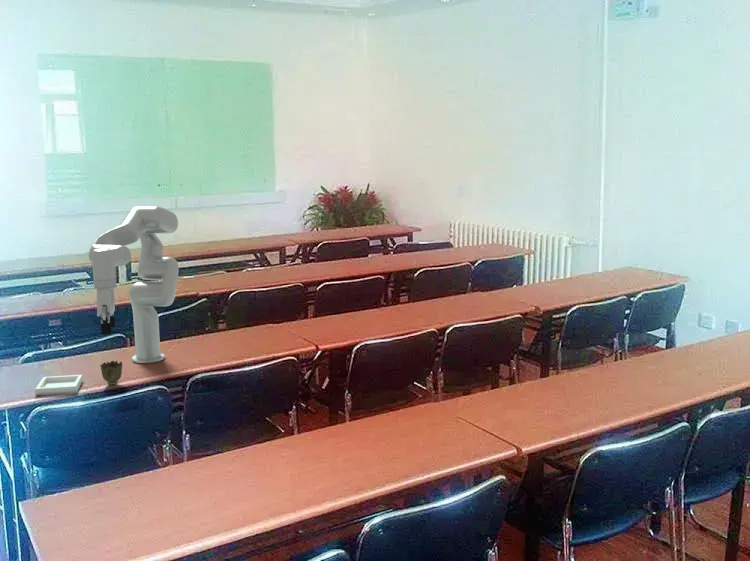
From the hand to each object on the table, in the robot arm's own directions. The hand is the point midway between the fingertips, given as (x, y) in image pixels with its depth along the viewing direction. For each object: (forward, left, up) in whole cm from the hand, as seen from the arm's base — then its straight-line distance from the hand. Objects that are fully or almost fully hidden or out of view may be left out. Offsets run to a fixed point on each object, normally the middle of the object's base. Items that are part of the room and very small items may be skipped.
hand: (108, 330), depth 269 cm
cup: (0, 0, -21) cm, 21 cm away
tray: (0, -18, -20) cm, 27 cm away
